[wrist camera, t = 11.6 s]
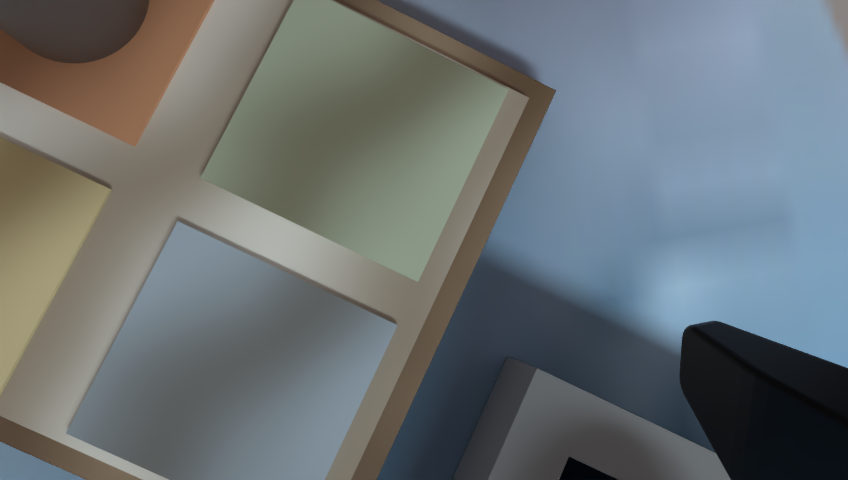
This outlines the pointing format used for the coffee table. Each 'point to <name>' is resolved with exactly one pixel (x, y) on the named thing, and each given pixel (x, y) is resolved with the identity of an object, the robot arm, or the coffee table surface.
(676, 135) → the coffee table surface
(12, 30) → the marker
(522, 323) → the coffee table surface
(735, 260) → the coffee table surface
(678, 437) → the button housing
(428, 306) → the picture board
